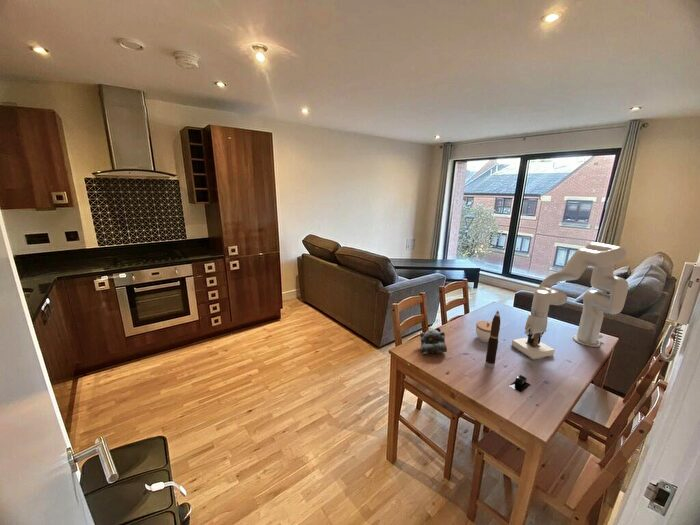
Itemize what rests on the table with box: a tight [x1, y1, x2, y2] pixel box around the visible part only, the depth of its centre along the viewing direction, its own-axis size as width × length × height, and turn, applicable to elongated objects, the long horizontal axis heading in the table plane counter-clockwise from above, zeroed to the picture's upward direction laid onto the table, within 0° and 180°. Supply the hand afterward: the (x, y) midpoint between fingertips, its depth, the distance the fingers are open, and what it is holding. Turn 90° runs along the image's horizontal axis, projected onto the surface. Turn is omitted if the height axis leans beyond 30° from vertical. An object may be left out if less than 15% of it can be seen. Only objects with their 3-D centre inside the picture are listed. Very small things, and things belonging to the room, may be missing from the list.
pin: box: [529, 333, 540, 347], centre depth 156 cm, size 4×4×8 cm
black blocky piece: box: [508, 374, 532, 393], centre depth 130 cm, size 12×7×5 cm, turn 123°
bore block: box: [511, 337, 555, 361], centre depth 158 cm, size 14×14×4 cm
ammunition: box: [484, 310, 501, 369], centre depth 142 cm, size 5×5×30 cm
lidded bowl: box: [475, 320, 501, 343], centre depth 169 cm, size 13×13×11 cm
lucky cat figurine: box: [419, 327, 448, 355], centre depth 157 cm, size 15×12×14 cm
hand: (533, 342), depth 157 cm, fingers closed on pin, 3 cm apart
